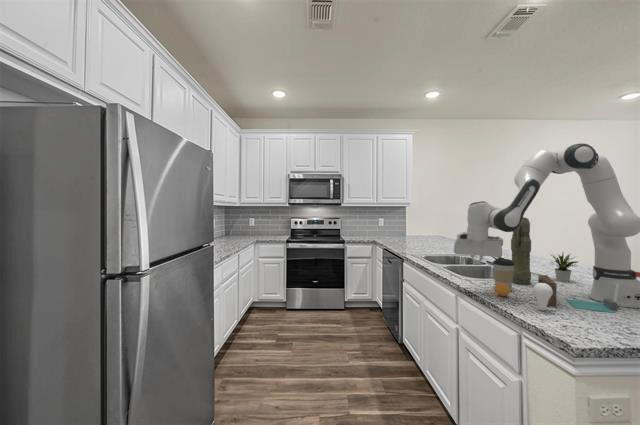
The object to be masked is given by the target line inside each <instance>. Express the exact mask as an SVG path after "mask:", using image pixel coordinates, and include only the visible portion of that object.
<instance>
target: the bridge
mask: <svg viewBox="0 0 640 425" xmlns="http://www.w3.org/2000/svg"><path fill="white" fill-rule="evenodd" d="M537 279H538V283H545V284H548V285H549V286H550V287H551V288H552V291H553V294H552V296H551V297H550V298H549V300H548V305H547V307H552V308H553V307H554V308H557V292H558V291H557V285H558V284H557V282H555V281H554V280H553V279H552V278H551V277H550V276H548V275H546V274H538V278H537ZM538 283H537V284H538Z"/></svg>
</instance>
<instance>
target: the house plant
mask: <svg viewBox="0 0 640 425" xmlns="http://www.w3.org/2000/svg"><path fill="white" fill-rule="evenodd" d="M564 253H565V252H564V251H562V254H561V255H560V254H559V253H558V254H557V256H558V257H556V256H555V255H553V254H552V253H551V254H550V253H549V255H550V256H551V257H552V258H553V259H554V262H553V261H551V262H549V264H550V265H553V266H557V268H555V267H554V271H555V272H554V273H555V277H556V278H555V279H556V281H557V280H558V281H557V282H560V281H562V282H561V283H569V282H570V279H571V277H572V276H571V275H572V270H571V269H570V267H573V266H574V267H575V268H577V267H578V265H577V264H576V263H578V260H576V261H575V260H574V259H575V258H576V257H579V255H578V256H577V255H576V256H573V257H570V256H571V253H569V254H567V255H566V256H565V257H564ZM572 260H574V261H572ZM568 268H569V269H568Z"/></svg>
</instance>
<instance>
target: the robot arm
mask: <svg viewBox="0 0 640 425" xmlns="http://www.w3.org/2000/svg"><path fill="white" fill-rule="evenodd" d="M596 151H597V150H596V149H595V148H594V147H593V146H591V145H589V144H588V143H583V142H581V143H574V144H571V145H569V146H566V147H563V148H561V149H559V150H557V151H555V152H553V151H551V150H548V149H540V150H537V151H535V152H534V153H533V154H532V155H531V156H530V157H529V158H528V159H527V160H526V161H525V162H524V163H523V164H522V165H521V167H520V169H518V170H517V172H516V174H515V177H514V179H513V180H514V183H515V185H516V187H517V188H518V190H517V191H518V192H517V193H516V195H515V196H514V197H513V199H512V201H511V202H510V204H509V205H508V206H506V207H505V208H499V207H497V206H494V205H492V204H490V203H489V202H487V201H483V200H482V201H477V202H476V201H475V202H472V203H470V204H469V205H468V209H467V218H466V220H467V230H466V231H463V232H460V233H457V234H456V239H455V241H454V244H453V253H454V254H456V255H464V256H465V255H467V256H470V258H471V259H472V261H473V262H472V263H473V264H472V265H474V266H475V265H476V266H481V262H482V261H483V259H484V257H493V258H494V257H495V258H502V256H503V248H502V247H503V245H504V239H503V238H502V237H500V236H491V235H489V228H491V229H495V230H499V231H501V232H504V233H513V232H512V231H515V230H517V229H518V228H519V227H520V225H521V223H522V219H523V218H524V217H525V213H526V211H527V210H528V208H530V207H529V206H530V205H531V204H532V202H533V200H534V199H535V198H536V196H537V194H538V192H540V191H539V190H540V188H541V186H543V184H544V182H545V181H546V180H547V179H548V177H549V176H550V174H551V173H552V174H555V175H562V174H566V173H572V172H574V173H576V174H578V176H579V178H580V182H581V185H582V188H583V192H584V195H585V197H586V200H587V202H588V203H589V205H590V206H591V207H592V208H593V210H594V211H595V213H593V214H591V215H590V217H589V218H588V220H587V223H588V224H587V225H588V227H589V228H590V232H591V233H590V234H591V237H592V242H593V247H594V265H593V267H592V278H593V282H592V287H591V290H590V293H589V294H588V297H589V298H590V299H593V300H595V301H597V302H600V303H604V298H606V299H611V300H613V301H614V302H616V303H617V307H623V308H636V309H638V308H639V309H640V280H639V279H637V278H640V272H639V271H635V270H633V269H632V251H631V249H630V247H629V245H628V243H627V239H626V238H630V237H633V236H636V235H638V234H640V217H639V216H638V215H637V214H636V213H635V212H634V210H633V209H632V207H631V205H630V204H629V203H628V201H627V200H626V198H625V197H624V194H623V191H622V189H621V187H620V184H619V181H618V178H617V175H616V171H615V170H614V168H613V166H612V165H611V163H610V161H609V160H608V158H607V157H606V156H602V155H599V153H598V152H596ZM475 256H477V257H478V256H479V260H475Z"/></svg>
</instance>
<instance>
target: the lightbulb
mask: <svg viewBox="0 0 640 425" xmlns="http://www.w3.org/2000/svg"><path fill="white" fill-rule="evenodd" d="M532 290H533V291H532V292H533V294H534V295H535V297H536V299H537V304H538V309H539V310H540V311H543V312H544V311H546V310H547V307H548V306H547V305H548V300H549V298H550V297H551V296H552V294H553V291H552V288H551V287H550V286H549V285H548V284H545V283H536V284H534V285H533V288H532Z"/></svg>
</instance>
